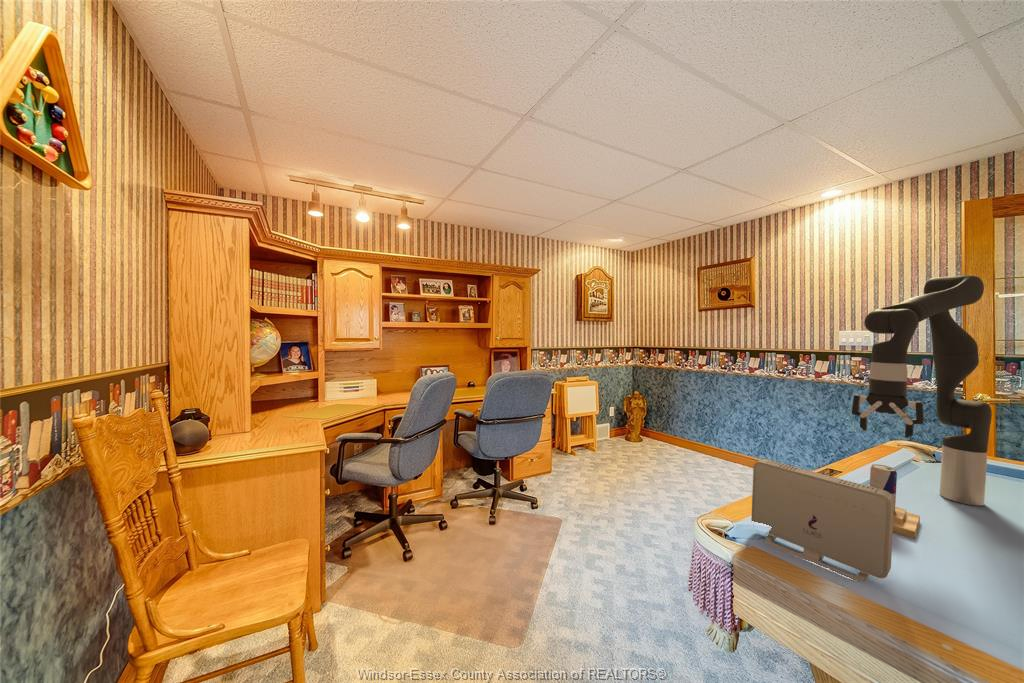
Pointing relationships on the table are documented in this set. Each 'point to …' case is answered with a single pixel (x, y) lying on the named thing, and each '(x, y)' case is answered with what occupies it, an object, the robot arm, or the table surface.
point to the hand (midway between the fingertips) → (885, 433)
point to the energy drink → (884, 479)
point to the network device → (825, 517)
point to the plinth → (905, 523)
